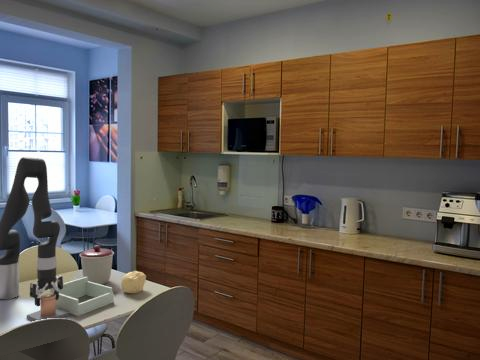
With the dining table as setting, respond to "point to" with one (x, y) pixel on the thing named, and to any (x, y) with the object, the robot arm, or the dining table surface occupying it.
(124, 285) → the sculpture
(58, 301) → the pale green open box
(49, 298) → the terracotta pot
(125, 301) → the dining table surface
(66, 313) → the slate board
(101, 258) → the canister
